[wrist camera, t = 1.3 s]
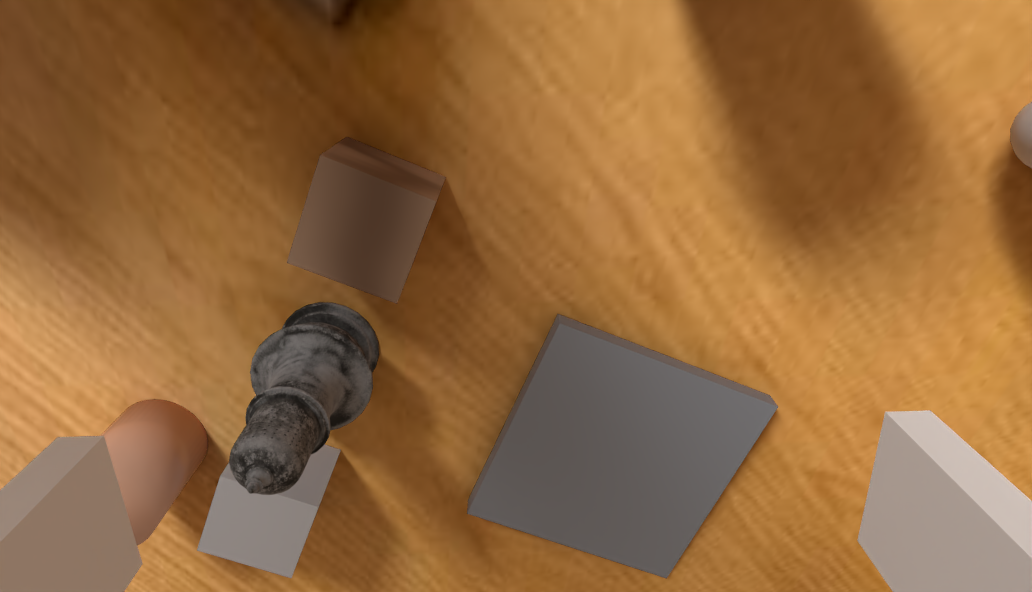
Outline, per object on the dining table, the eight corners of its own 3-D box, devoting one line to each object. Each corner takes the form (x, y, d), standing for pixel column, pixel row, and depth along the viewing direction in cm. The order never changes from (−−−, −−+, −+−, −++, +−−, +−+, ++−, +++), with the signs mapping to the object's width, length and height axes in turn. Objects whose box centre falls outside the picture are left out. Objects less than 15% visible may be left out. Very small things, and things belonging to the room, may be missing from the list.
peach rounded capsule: (109, 457, 38) (41, 532, 32) (126, 387, 36) (57, 452, 31) (196, 485, 39) (145, 562, 33) (217, 417, 37) (166, 486, 31)
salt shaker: (313, 275, 34) (220, 394, 23) (406, 340, 35) (362, 482, 24) (252, 355, 36) (139, 503, 24) (344, 414, 37) (276, 579, 26)
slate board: (467, 499, 39) (467, 513, 38) (558, 314, 35) (559, 323, 34) (662, 563, 41) (666, 578, 40) (769, 395, 37) (778, 406, 36)
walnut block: (317, 230, 33) (286, 262, 29) (347, 136, 32) (320, 154, 27) (411, 266, 34) (397, 303, 29) (446, 176, 32) (436, 201, 28)
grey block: (233, 488, 39) (196, 550, 34) (255, 420, 37) (220, 476, 33) (316, 514, 40) (291, 578, 35) (341, 449, 38) (318, 507, 33)
